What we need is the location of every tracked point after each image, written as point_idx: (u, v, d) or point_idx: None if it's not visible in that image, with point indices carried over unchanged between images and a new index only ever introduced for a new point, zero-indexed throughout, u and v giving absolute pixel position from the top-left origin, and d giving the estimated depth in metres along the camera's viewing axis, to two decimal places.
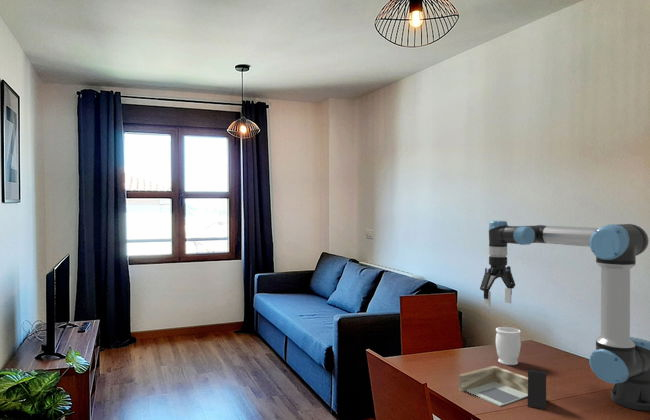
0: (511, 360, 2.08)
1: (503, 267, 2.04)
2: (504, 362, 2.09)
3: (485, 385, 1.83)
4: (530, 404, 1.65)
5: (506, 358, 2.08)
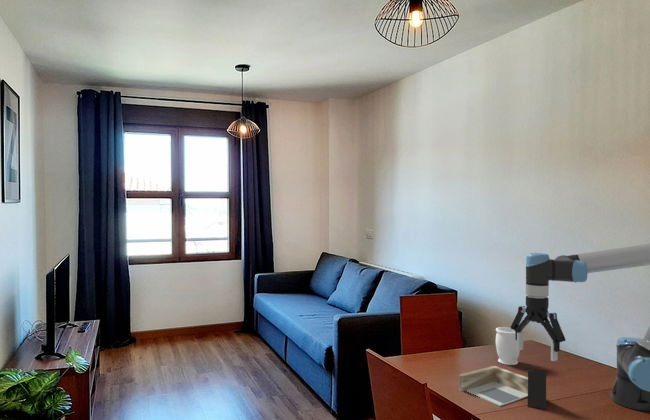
0: (511, 360, 2.08)
1: (540, 311, 1.65)
2: (504, 362, 2.09)
3: (485, 385, 1.83)
4: (530, 404, 1.65)
5: (506, 358, 2.08)
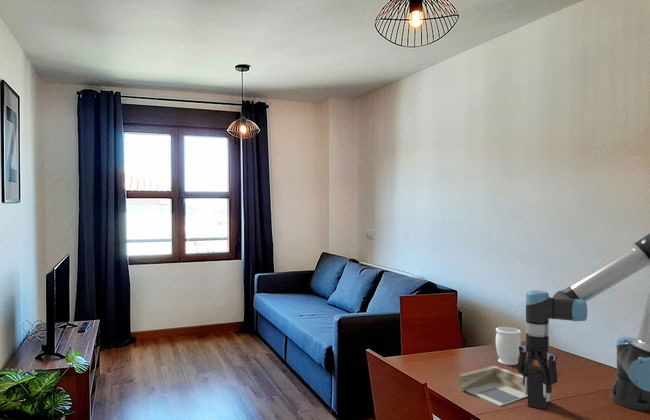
0: (511, 360, 2.08)
1: (541, 349, 1.65)
2: (504, 362, 2.09)
3: (485, 385, 1.83)
4: (530, 404, 1.65)
5: (506, 358, 2.08)
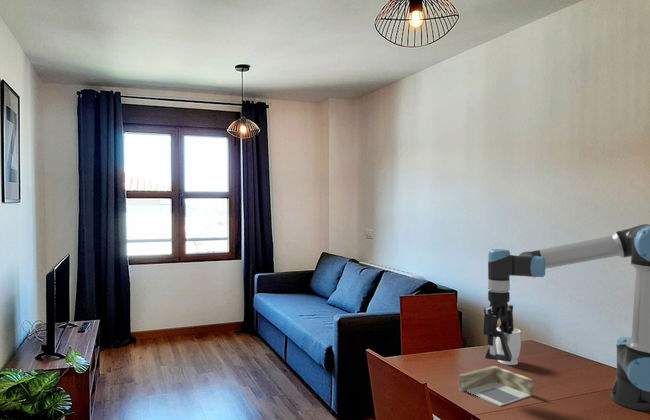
0: (511, 360, 2.08)
1: (505, 303, 1.74)
2: (504, 362, 2.09)
3: (485, 385, 1.83)
4: (510, 358, 1.70)
5: None
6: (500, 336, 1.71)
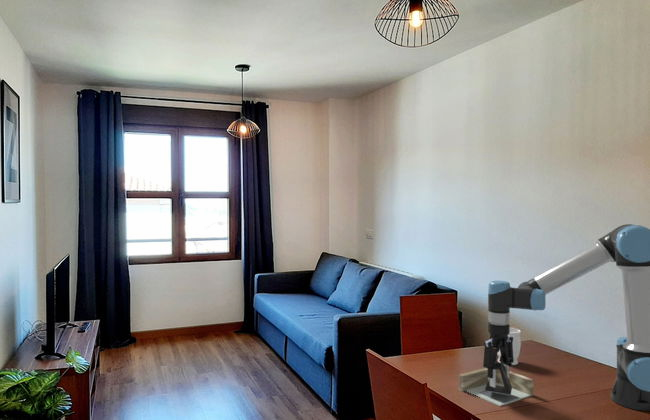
0: None
1: (505, 335, 1.74)
2: None
3: (485, 385, 1.83)
4: (510, 391, 1.70)
5: None
6: (500, 369, 1.71)
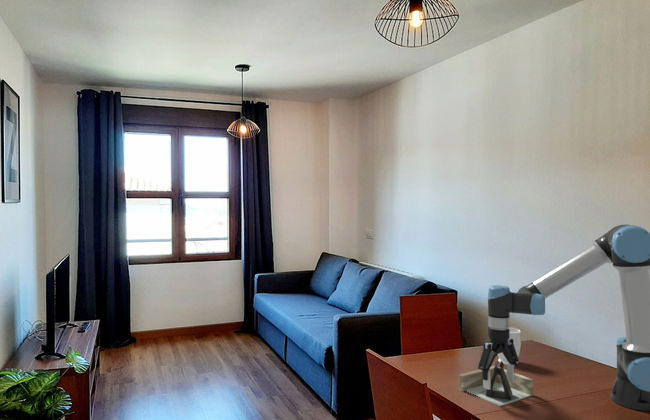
0: None
1: (505, 340, 1.74)
2: (504, 362, 2.09)
3: None
4: (510, 396, 1.70)
5: None
6: (500, 374, 1.71)
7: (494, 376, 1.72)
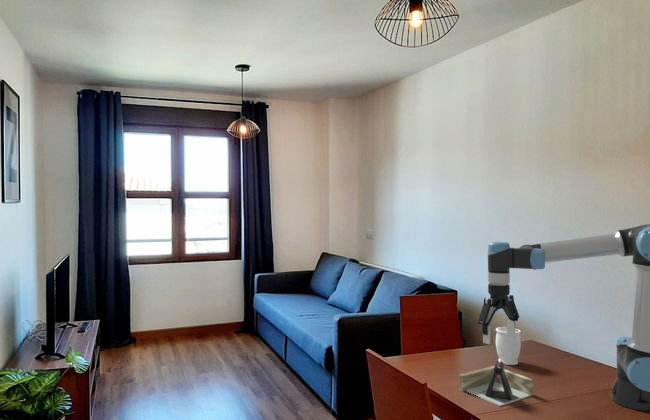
0: (511, 360, 2.08)
1: (505, 296, 1.74)
2: (504, 362, 2.09)
3: (485, 385, 1.83)
4: (510, 396, 1.70)
5: (506, 358, 2.08)
6: (500, 374, 1.71)
7: (494, 376, 1.72)
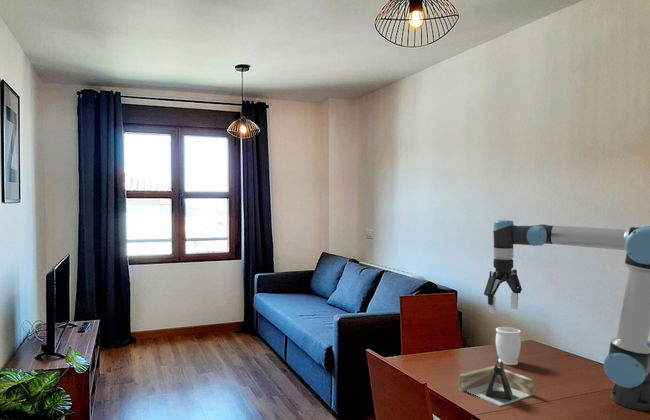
0: (511, 360, 2.08)
1: (509, 270, 1.89)
2: (504, 362, 2.09)
3: (485, 385, 1.83)
4: (510, 396, 1.70)
5: (506, 358, 2.08)
6: (500, 374, 1.71)
7: (494, 376, 1.72)
